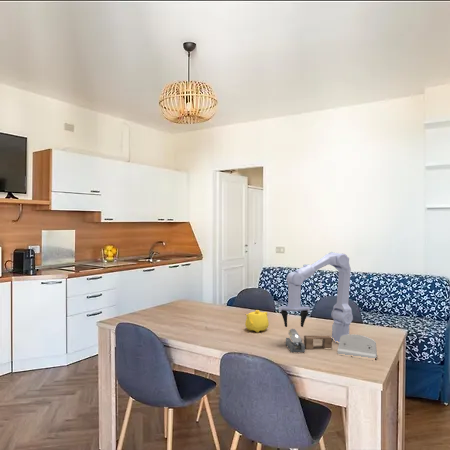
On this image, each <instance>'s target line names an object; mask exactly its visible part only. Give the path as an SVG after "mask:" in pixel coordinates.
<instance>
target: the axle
mask: <svg viewBox="0 0 450 450" xmlns="http://www.w3.org/2000/svg"><path fill="white" fill-rule="evenodd" d="M288 335H289V338H290V340H291V341H292V342H293V343H294V345H295V346H300V345H301V344H302V343H303V340H302V338H301V336H300V335H299V333H298V331H297V330H296V328H290V329H289V330H288Z"/></svg>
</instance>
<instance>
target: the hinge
mask: <svg viewBox="0 0 450 450" xmlns="http://www.w3.org/2000/svg"><path fill="white" fill-rule="evenodd" d="M377 351H378V350H377V342H376V341H375V340H374V339H373V338H370V337H368V336H365V335H361V334H350V333H349V335H343V336H341V337H340V341H339V343H338V346H337V351H336V352H337V353H338V354H345V355H353V356H361V357H368V358H376V357H377V358H378V352H377ZM337 353H336V354H337ZM377 358H376V359H377Z"/></svg>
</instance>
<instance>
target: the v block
mask: <svg viewBox="0 0 450 450" xmlns="http://www.w3.org/2000/svg"><path fill="white" fill-rule="evenodd" d="M285 346H286V347H287V346H288V347H287V349H288V350H289V349H290V350H289V351H290V353H291V352H306V348H305V345H304V342H302V344H301V345H300V346H295V345H294V343H293V341H292V340H291V338H290V337H285Z"/></svg>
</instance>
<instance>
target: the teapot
mask: <svg viewBox="0 0 450 450" xmlns="http://www.w3.org/2000/svg"><path fill="white" fill-rule="evenodd" d="M245 316H246V319H245V328H246V329H248V331H250V332H251V331H255V333H256V334H257V333H260V331H262V332H265V330H267V329H268V328H269V325H270V324H269V323H270V321H269V318H268V312H267V311H260V310H259V309H256V310H255V311H251V312H249V313H247V314H245Z"/></svg>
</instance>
